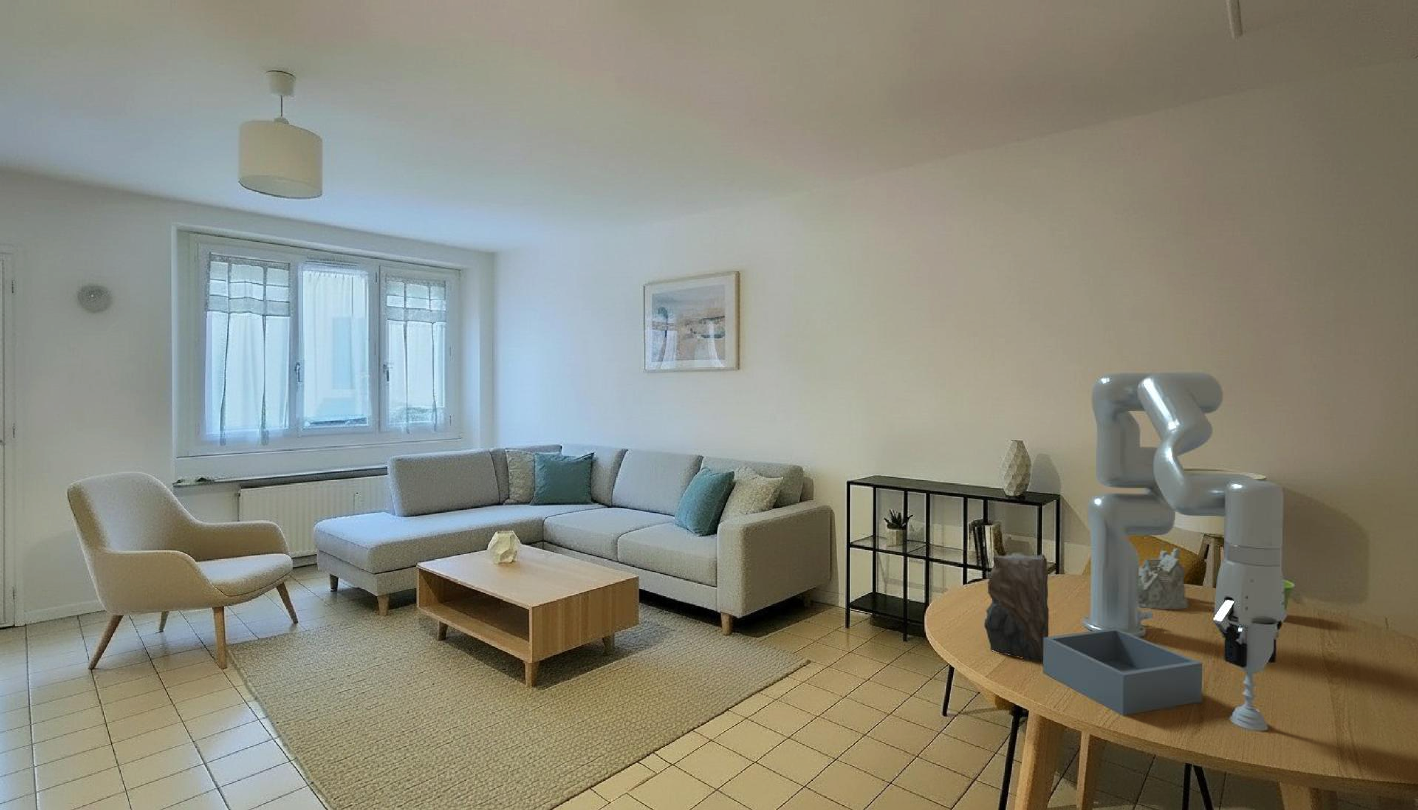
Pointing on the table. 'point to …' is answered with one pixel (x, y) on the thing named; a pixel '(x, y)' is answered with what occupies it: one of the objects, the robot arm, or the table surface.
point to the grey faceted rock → (1018, 605)
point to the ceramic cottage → (1162, 582)
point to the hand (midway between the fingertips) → (1249, 660)
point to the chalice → (1257, 657)
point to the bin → (1122, 670)
